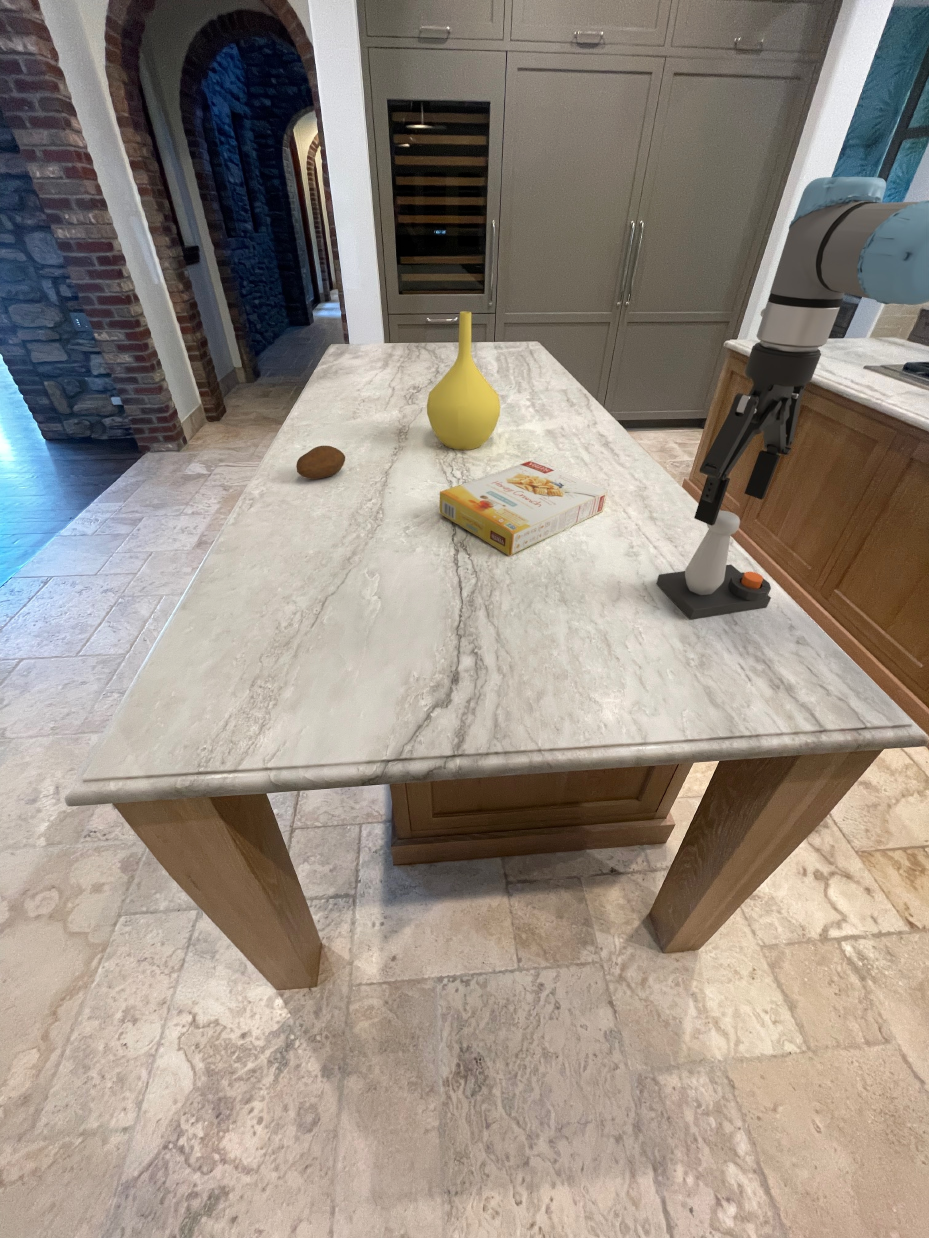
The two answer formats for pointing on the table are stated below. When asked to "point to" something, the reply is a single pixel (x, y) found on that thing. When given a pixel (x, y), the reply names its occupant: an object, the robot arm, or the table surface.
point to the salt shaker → (712, 555)
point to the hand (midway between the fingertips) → (730, 508)
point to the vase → (463, 399)
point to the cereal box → (521, 504)
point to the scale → (714, 595)
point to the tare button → (752, 580)
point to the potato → (320, 462)
